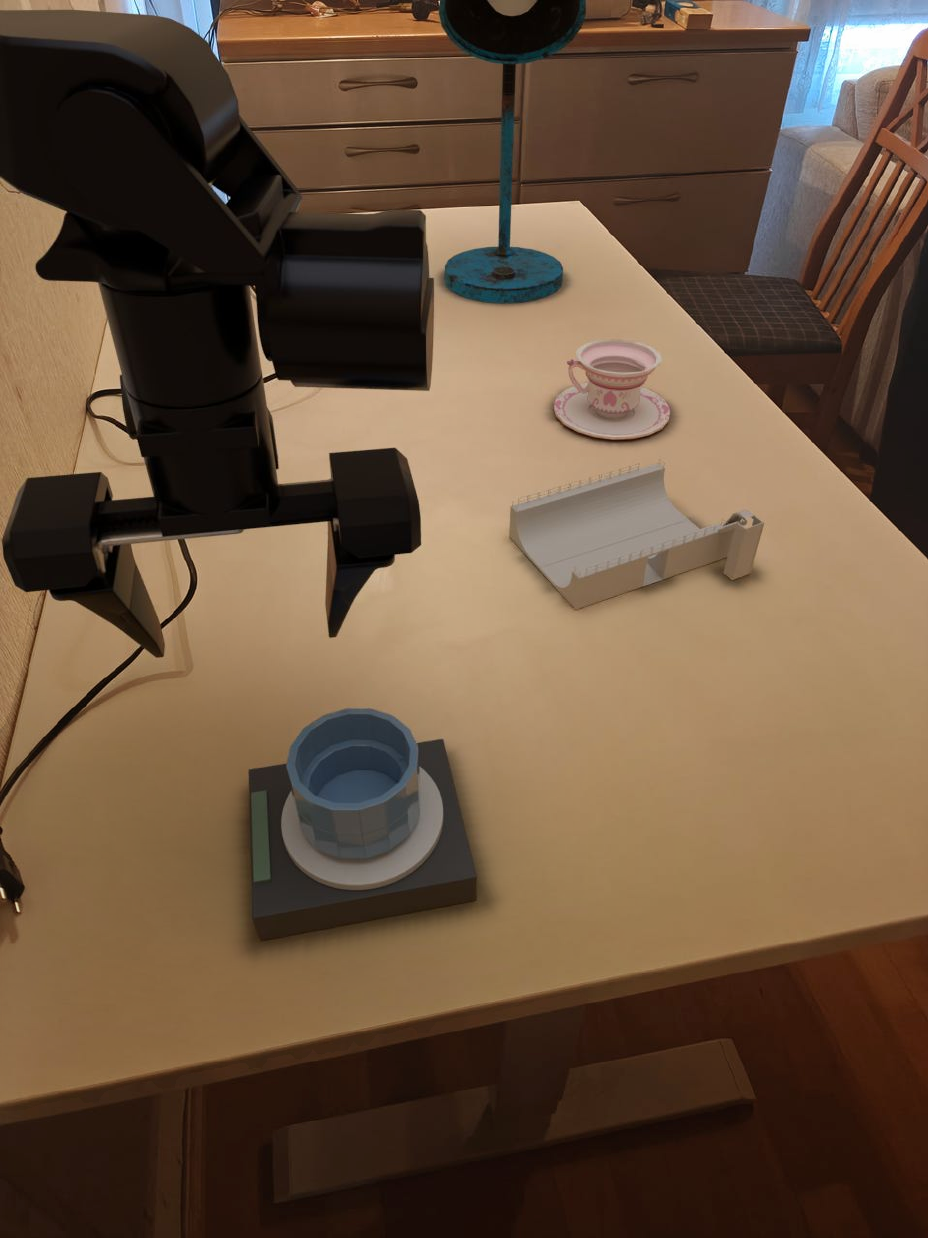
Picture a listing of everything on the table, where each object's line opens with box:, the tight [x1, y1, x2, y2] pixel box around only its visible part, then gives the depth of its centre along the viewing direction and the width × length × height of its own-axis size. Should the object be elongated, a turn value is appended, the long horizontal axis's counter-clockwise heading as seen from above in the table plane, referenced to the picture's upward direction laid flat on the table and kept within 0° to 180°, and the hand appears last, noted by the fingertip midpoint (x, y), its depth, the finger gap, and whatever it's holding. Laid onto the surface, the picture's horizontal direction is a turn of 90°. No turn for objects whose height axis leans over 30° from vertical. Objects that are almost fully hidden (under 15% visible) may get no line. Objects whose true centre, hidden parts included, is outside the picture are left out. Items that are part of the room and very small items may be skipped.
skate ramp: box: [508, 459, 765, 611], centre depth 71 cm, size 15×13×5 cm
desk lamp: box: [438, 0, 587, 304], centre depth 101 cm, size 16×22×45 cm
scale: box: [248, 738, 478, 941], centre depth 50 cm, size 12×10×3 cm
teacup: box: [553, 339, 671, 441], centre depth 88 cm, size 12×12×6 cm
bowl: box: [285, 707, 421, 859], centre depth 48 cm, size 7×7×5 cm
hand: (247, 642), depth 48 cm, fingers open, 9 cm apart
